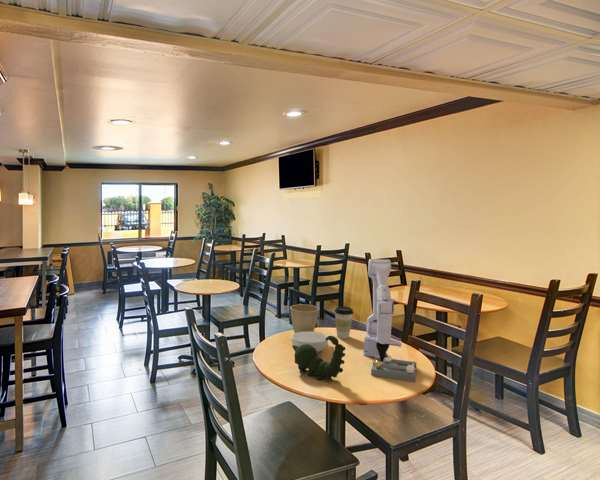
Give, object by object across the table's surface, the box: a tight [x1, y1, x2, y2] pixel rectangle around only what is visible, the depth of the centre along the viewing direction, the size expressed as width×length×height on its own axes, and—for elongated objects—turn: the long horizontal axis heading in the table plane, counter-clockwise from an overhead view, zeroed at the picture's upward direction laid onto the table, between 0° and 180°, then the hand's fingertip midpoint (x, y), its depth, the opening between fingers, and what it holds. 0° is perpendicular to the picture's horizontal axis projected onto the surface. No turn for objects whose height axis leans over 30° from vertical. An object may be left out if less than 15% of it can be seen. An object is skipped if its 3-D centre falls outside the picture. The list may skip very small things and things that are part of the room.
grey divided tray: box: [370, 356, 417, 383], centre depth 163 cm, size 17×14×4 cm
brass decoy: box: [374, 360, 382, 368], centre depth 160 cm, size 3×3×3 cm
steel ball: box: [383, 354, 393, 364], centre depth 164 cm, size 4×4×4 cm
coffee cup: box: [333, 306, 354, 340], centre depth 206 cm, size 10×10×15 cm
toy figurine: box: [291, 335, 346, 382], centre depth 157 cm, size 9×19×25 cm
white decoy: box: [406, 365, 414, 373], centre depth 156 cm, size 3×3×3 cm
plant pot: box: [289, 303, 320, 334], centre depth 201 cm, size 15×15×16 cm
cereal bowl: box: [291, 331, 329, 353], centre depth 184 cm, size 17×17×7 cm
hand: (382, 361), depth 165 cm, fingers closed, pressing on steel ball
